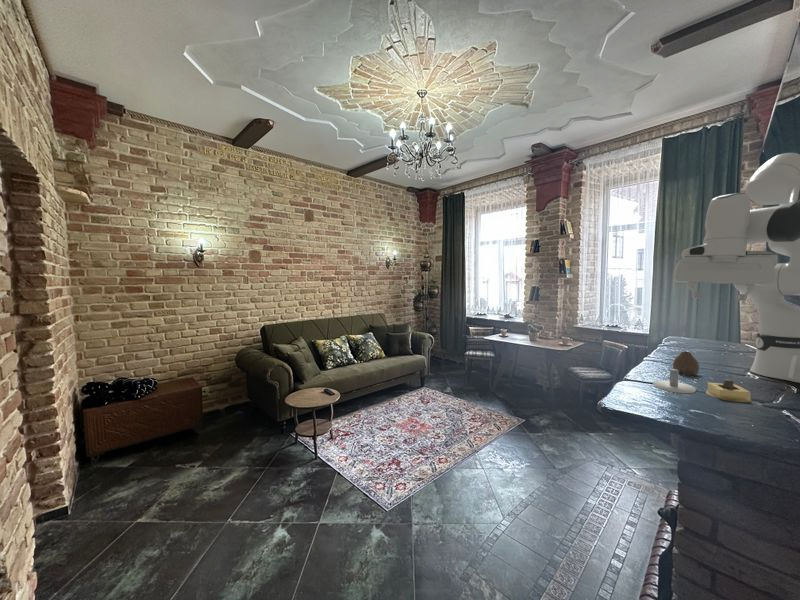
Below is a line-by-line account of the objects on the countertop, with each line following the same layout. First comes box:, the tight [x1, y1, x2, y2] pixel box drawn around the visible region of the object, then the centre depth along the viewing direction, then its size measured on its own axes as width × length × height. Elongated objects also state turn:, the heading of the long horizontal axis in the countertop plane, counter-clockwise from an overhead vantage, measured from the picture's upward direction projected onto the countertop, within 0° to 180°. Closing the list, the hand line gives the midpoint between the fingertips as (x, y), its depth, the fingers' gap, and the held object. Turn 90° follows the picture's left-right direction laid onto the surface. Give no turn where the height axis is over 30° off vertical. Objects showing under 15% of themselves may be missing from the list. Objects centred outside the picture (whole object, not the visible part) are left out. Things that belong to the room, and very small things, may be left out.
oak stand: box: [705, 378, 752, 403], centre depth 90 cm, size 9×9×6 cm
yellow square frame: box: [706, 382, 752, 402], centre depth 90 cm, size 6×6×2 cm
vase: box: [672, 351, 700, 376], centre depth 112 cm, size 7×7×9 cm
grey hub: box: [652, 368, 697, 394], centre depth 98 cm, size 10×10×7 cm
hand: (718, 299), depth 90 cm, fingers open, 8 cm apart
